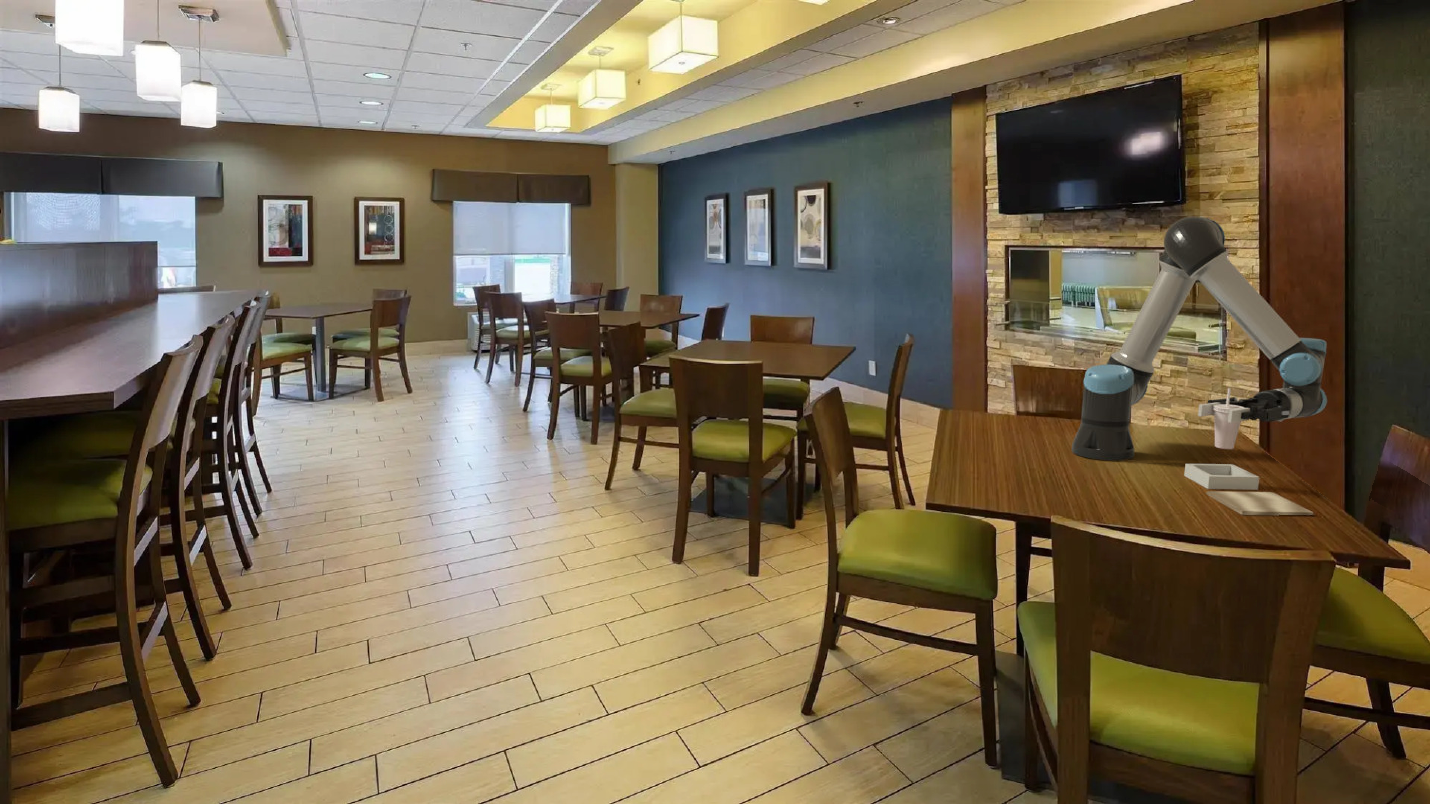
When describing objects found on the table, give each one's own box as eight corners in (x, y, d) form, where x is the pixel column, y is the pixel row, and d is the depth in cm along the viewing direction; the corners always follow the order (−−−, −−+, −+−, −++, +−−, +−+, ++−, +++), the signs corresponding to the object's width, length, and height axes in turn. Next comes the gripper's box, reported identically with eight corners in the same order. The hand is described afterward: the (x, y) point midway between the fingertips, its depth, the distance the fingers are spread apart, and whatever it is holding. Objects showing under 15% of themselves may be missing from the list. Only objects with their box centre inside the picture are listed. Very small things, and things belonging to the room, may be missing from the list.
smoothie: (1202, 443, 193) (1209, 386, 190) (1227, 443, 193) (1235, 385, 191) (1220, 450, 187) (1228, 391, 184) (1246, 450, 187) (1255, 390, 184)
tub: (1207, 488, 187) (1209, 476, 186) (1184, 475, 197) (1185, 463, 197) (1257, 489, 186) (1259, 477, 185) (1231, 476, 197) (1232, 464, 196)
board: (1242, 514, 169) (1242, 511, 168) (1206, 494, 182) (1207, 491, 182) (1312, 516, 168) (1313, 512, 167) (1271, 495, 181) (1272, 492, 181)
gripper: (1316, 428, 188) (1255, 438, 178) (1233, 412, 205) (1173, 420, 195) (1321, 396, 187) (1260, 405, 177) (1237, 383, 204) (1177, 390, 194)
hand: (1215, 413), depth 186 cm, fingers closed on smoothie, 6 cm apart
